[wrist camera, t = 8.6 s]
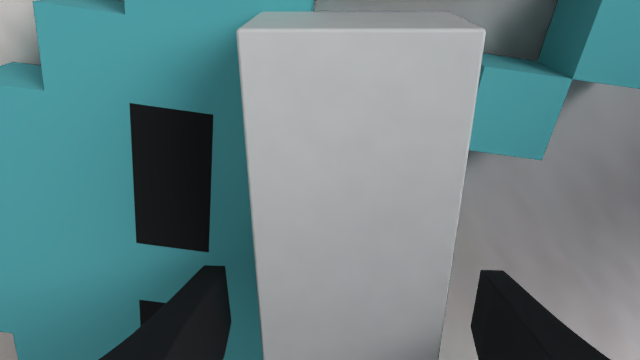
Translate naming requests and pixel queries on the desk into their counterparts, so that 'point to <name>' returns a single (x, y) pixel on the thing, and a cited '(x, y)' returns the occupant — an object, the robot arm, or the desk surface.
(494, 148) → the alien figure
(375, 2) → the desk surface
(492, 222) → the desk surface
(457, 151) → the white block
